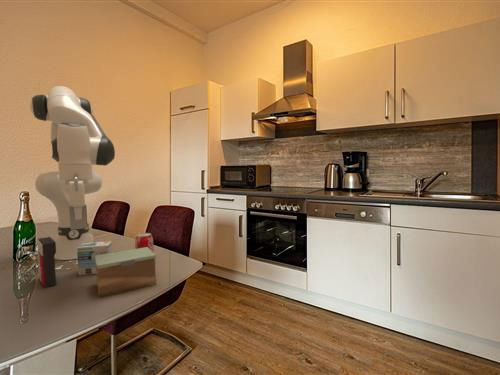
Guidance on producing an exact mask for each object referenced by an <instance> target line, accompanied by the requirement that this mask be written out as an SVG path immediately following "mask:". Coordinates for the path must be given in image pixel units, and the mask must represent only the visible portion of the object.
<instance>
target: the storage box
mask: <svg viewBox="0 0 500 375" xmlns="http://www.w3.org/2000/svg"><path fill="white" fill-rule="evenodd" d="M95 275H96V285H97V293H98V297H99V298H102V297H107V296H111V295H115V294H116V295H117V294H119V293H123V292H128V291H132V290H136V289H141V288H144V287H149V286H153V285H156V284H157V278H156V276H157V274H156V258H153V259H148V260H142V261H137V262H135V264H134V265H129V266H123V267H121V265H116V266H110V267H105V268H99V269H97V267H96V274H95Z"/></svg>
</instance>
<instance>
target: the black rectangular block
mask: <svg viewBox="0 0 500 375" xmlns="http://www.w3.org/2000/svg"><path fill="white" fill-rule="evenodd" d="M36 243H37V251H36V252H37V264H38V278H39V280H40V283H41V284H42V286H43V287H45V288H49V287H52V286H56V285H57V276H56V261H55V260H56V259H54V255H55V254H56V243H55V240H54V239H53V238H52V237H50V236H48V237H47V236H46V237H41V238H38V239H37V240H36Z"/></svg>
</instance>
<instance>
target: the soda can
mask: <svg viewBox="0 0 500 375" xmlns="http://www.w3.org/2000/svg"><path fill="white" fill-rule="evenodd" d="M134 244H135V246H134V247H135V248H134V249H138V248H144V247H148V248H149V249H150V250H151V251H152V252H153V253H154V250H155V249H154V238H153V236H152V233H150V232H142V233H137V234H136V237H135V243H134ZM154 254H155V253H154Z"/></svg>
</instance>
